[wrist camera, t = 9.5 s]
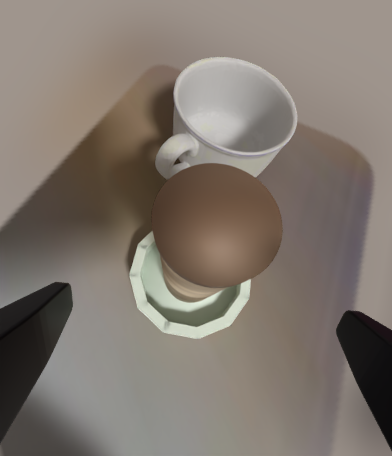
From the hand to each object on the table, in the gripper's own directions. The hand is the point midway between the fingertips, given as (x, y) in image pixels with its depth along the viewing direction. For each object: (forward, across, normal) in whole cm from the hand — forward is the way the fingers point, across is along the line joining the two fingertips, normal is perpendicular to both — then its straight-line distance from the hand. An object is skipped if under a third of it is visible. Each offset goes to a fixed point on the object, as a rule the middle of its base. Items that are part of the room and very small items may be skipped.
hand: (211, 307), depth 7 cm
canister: (+11, 0, +6) cm, 13 cm away
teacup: (+21, -1, -2) cm, 21 cm away
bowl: (+12, 0, +7) cm, 13 cm away
